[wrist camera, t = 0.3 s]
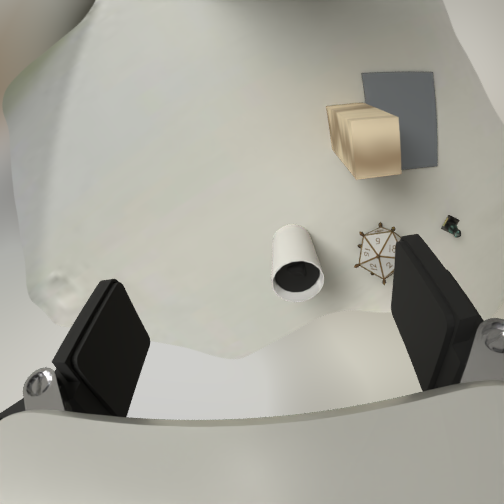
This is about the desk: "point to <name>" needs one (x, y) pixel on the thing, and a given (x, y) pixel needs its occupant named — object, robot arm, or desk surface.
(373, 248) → the game die
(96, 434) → the robot arm
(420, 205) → the desk surface
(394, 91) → the slate mat
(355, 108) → the maple block
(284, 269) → the white and black cylinder
